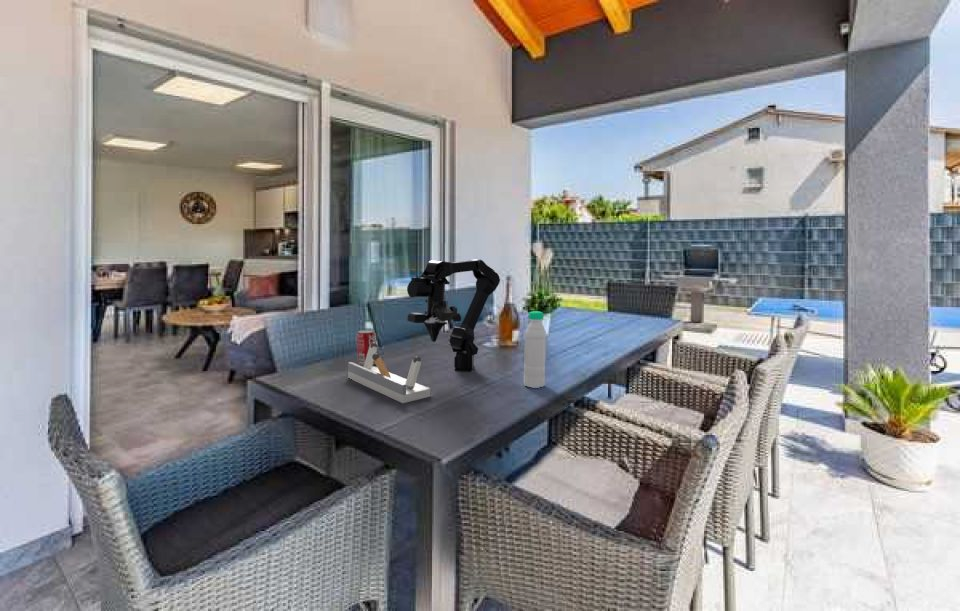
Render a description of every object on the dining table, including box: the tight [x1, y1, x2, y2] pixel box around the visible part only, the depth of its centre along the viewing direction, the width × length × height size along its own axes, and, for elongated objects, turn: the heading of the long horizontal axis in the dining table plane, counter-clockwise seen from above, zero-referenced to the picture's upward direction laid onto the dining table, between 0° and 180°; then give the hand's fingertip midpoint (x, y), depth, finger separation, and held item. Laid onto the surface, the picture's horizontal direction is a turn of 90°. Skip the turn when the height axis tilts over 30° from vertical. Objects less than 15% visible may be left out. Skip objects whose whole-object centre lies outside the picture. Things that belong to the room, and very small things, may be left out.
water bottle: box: [523, 310, 547, 387], centre depth 161 cm, size 7×7×25 cm
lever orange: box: [372, 352, 391, 378], centre depth 158 cm, size 2×3×10 cm
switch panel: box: [347, 361, 431, 404], centre depth 160 cm, size 10×34×6 cm, turn 42°
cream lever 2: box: [405, 356, 422, 390], centre depth 151 cm, size 2×3×10 cm
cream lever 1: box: [362, 342, 378, 370], centre depth 170 cm, size 2×3×10 cm
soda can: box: [356, 329, 377, 367], centre depth 187 cm, size 7×7×13 cm
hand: (433, 341), depth 171 cm, fingers closed
